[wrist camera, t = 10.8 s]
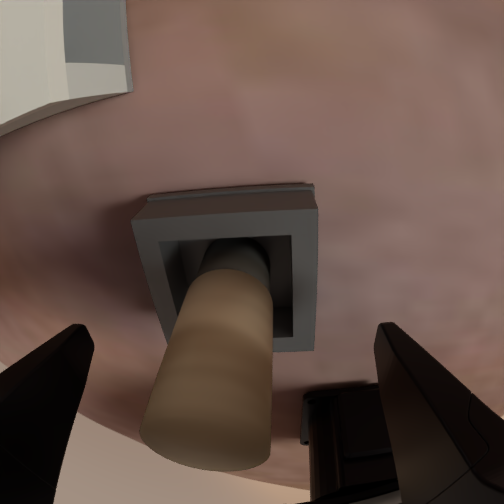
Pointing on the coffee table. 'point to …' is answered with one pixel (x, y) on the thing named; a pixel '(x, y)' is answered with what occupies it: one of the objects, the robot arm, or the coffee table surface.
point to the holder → (229, 226)
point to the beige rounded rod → (218, 366)
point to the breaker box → (60, 57)
